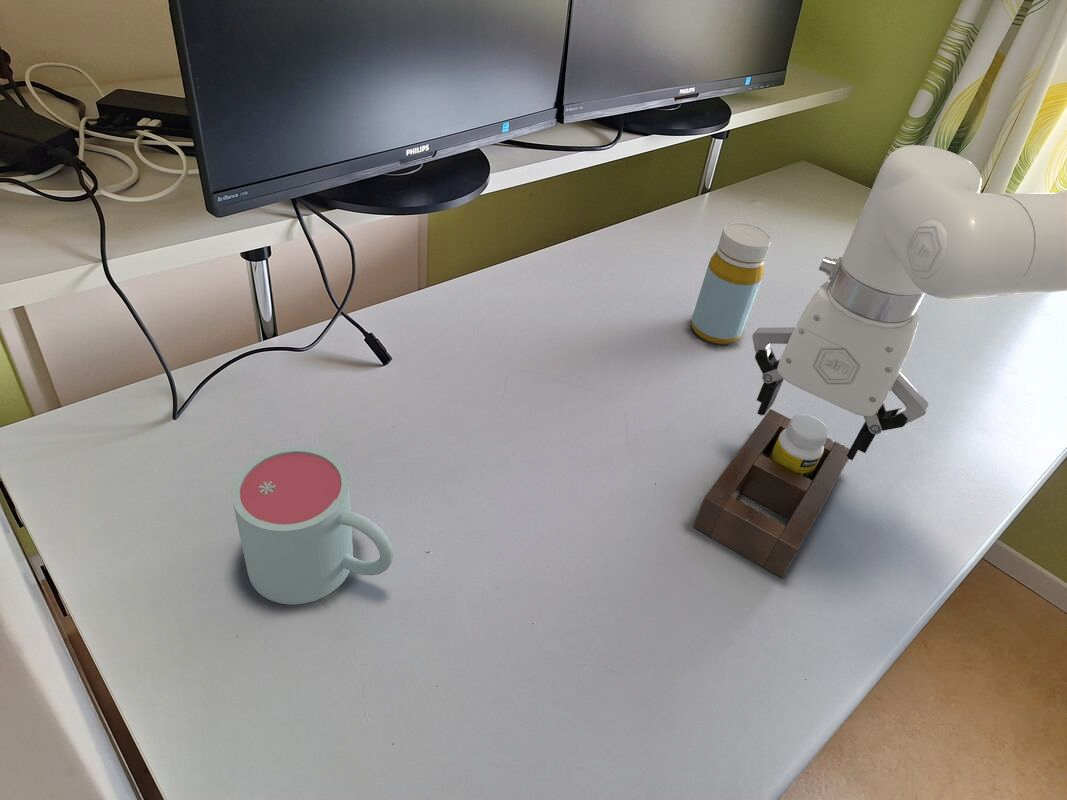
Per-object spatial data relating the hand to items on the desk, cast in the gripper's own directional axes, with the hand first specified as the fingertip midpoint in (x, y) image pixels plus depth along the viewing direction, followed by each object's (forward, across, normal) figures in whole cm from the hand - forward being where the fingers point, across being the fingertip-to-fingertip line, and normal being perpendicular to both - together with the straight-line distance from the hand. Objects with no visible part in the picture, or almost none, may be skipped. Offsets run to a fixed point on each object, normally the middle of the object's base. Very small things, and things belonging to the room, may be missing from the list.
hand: (808, 429), depth 79 cm
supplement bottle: (+8, 0, 0) cm, 8 cm away
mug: (+8, -29, -40) cm, 50 cm away
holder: (+8, 0, -4) cm, 9 cm away
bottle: (+8, -18, +21) cm, 29 cm away
